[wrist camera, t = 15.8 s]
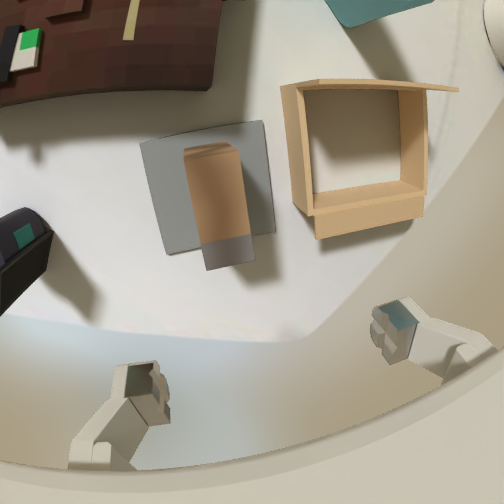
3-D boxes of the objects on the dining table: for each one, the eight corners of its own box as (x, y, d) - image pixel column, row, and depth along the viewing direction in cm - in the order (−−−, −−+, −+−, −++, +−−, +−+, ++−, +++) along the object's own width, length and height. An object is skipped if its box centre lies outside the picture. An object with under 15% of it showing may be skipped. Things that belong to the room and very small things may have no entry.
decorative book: (243, 103, 21) (-68, 134, 15) (229, 105, 28) (-28, 125, 21) (266, -86, 13) (-35, -39, 6) (248, -53, 20) (-5, -22, 13)
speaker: (68, 238, 29) (20, 284, 20) (45, 270, 31) (2, 320, 21) (23, 192, 27) (-34, 224, 17) (4, 228, 28) (-48, 266, 18)
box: (225, 140, 29) (239, 150, 22) (238, 225, 33) (254, 260, 26) (183, 148, 28) (183, 161, 21) (200, 233, 32) (206, 270, 25)
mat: (261, 120, 29) (262, 120, 28) (274, 229, 34) (275, 231, 34) (140, 143, 27) (139, 143, 27) (166, 252, 33) (166, 254, 33)
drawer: (401, 85, 30) (458, 88, 21) (403, 202, 37) (452, 231, 28) (280, 86, 28) (318, 79, 19) (294, 223, 35) (330, 263, 26)
